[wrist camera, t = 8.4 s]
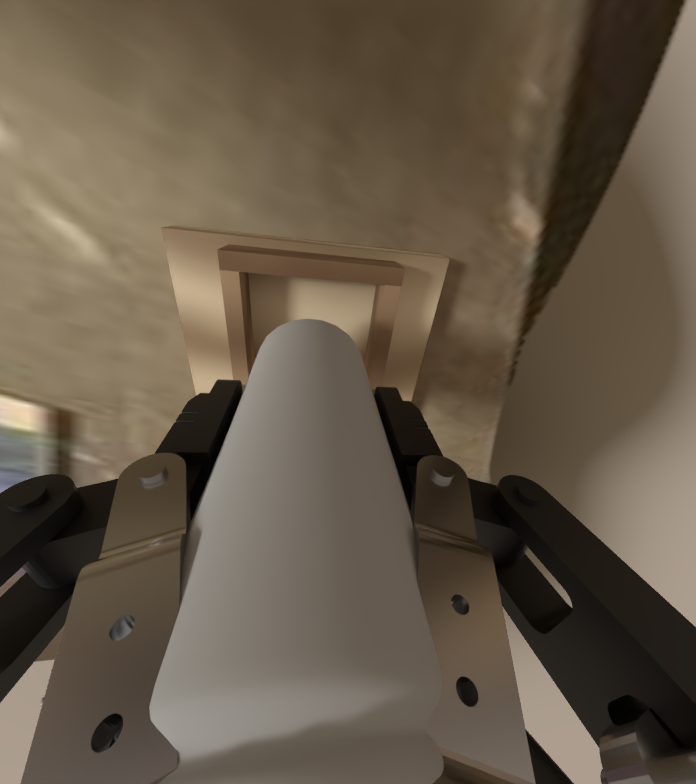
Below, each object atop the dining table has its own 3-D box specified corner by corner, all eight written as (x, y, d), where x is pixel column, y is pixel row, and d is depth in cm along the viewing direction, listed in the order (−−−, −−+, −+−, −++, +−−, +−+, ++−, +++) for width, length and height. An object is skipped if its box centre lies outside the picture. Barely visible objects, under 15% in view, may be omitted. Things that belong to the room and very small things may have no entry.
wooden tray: (174, 225, 14) (139, 231, 11) (439, 254, 16) (466, 265, 13) (230, 524, 28) (220, 561, 25) (372, 520, 30) (379, 554, 27)
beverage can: (381, 362, 14) (559, 776, 4) (313, 421, 15) (311, 828, 5) (306, 289, 12) (257, 798, 2) (235, 366, 13) (-14, 874, 3)
